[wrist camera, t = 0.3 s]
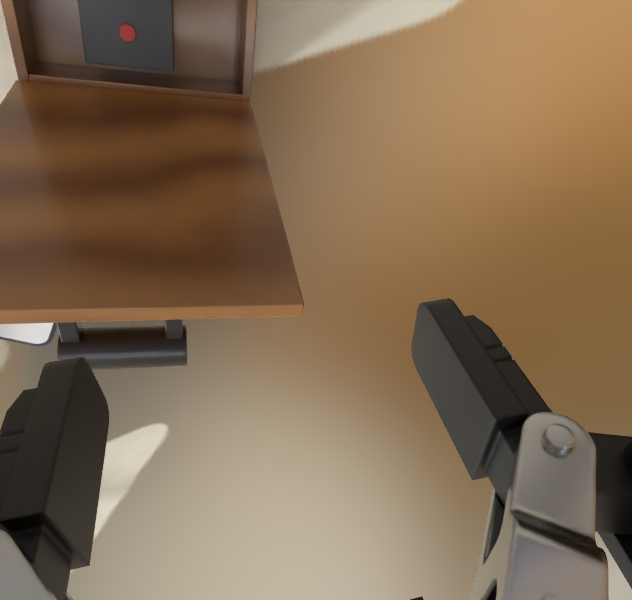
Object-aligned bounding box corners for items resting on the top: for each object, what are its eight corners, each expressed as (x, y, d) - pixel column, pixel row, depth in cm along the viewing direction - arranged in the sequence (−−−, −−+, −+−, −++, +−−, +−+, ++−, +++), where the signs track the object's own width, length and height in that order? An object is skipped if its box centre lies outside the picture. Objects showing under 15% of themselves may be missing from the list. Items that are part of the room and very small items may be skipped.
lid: (-137, 313, 14) (-70, 411, 18) (304, 303, 18) (286, 387, 21) (15, 79, 27) (36, 163, 31) (251, 101, 31) (246, 174, 34)
